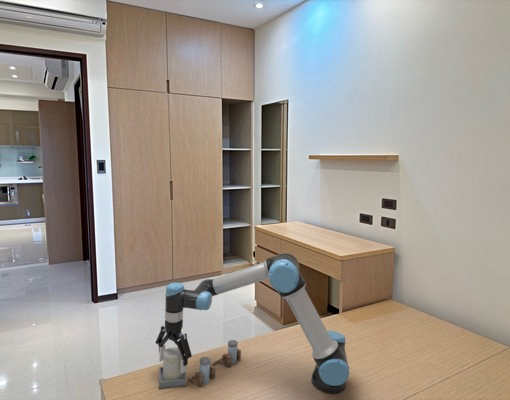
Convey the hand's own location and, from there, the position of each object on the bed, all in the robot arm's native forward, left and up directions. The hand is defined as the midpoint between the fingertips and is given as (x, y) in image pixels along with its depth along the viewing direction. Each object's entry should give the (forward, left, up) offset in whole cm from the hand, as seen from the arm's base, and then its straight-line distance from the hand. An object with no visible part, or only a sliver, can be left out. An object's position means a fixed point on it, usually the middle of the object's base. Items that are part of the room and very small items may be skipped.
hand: (172, 366), depth 153 cm
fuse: (-12, -28, -6) cm, 30 cm away
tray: (0, 0, -6) cm, 6 cm away
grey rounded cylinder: (-12, -8, -6) cm, 15 cm away
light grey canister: (0, 0, -6) cm, 6 cm away
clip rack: (-10, -18, -6) cm, 21 cm away
